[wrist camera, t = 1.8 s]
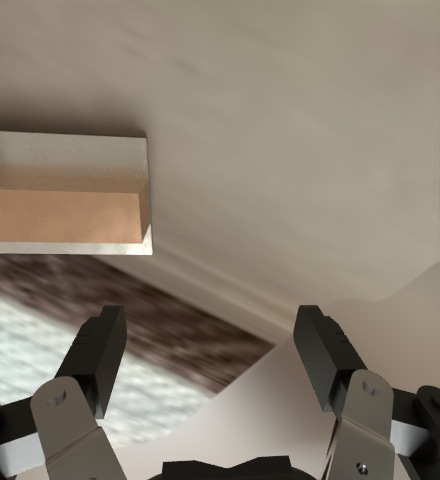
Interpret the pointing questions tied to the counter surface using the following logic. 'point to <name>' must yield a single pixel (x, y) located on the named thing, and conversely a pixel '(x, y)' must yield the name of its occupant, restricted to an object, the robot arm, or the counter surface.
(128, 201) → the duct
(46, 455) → the robot arm
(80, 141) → the block stand
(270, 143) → the counter surface
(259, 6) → the counter surface
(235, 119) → the counter surface
